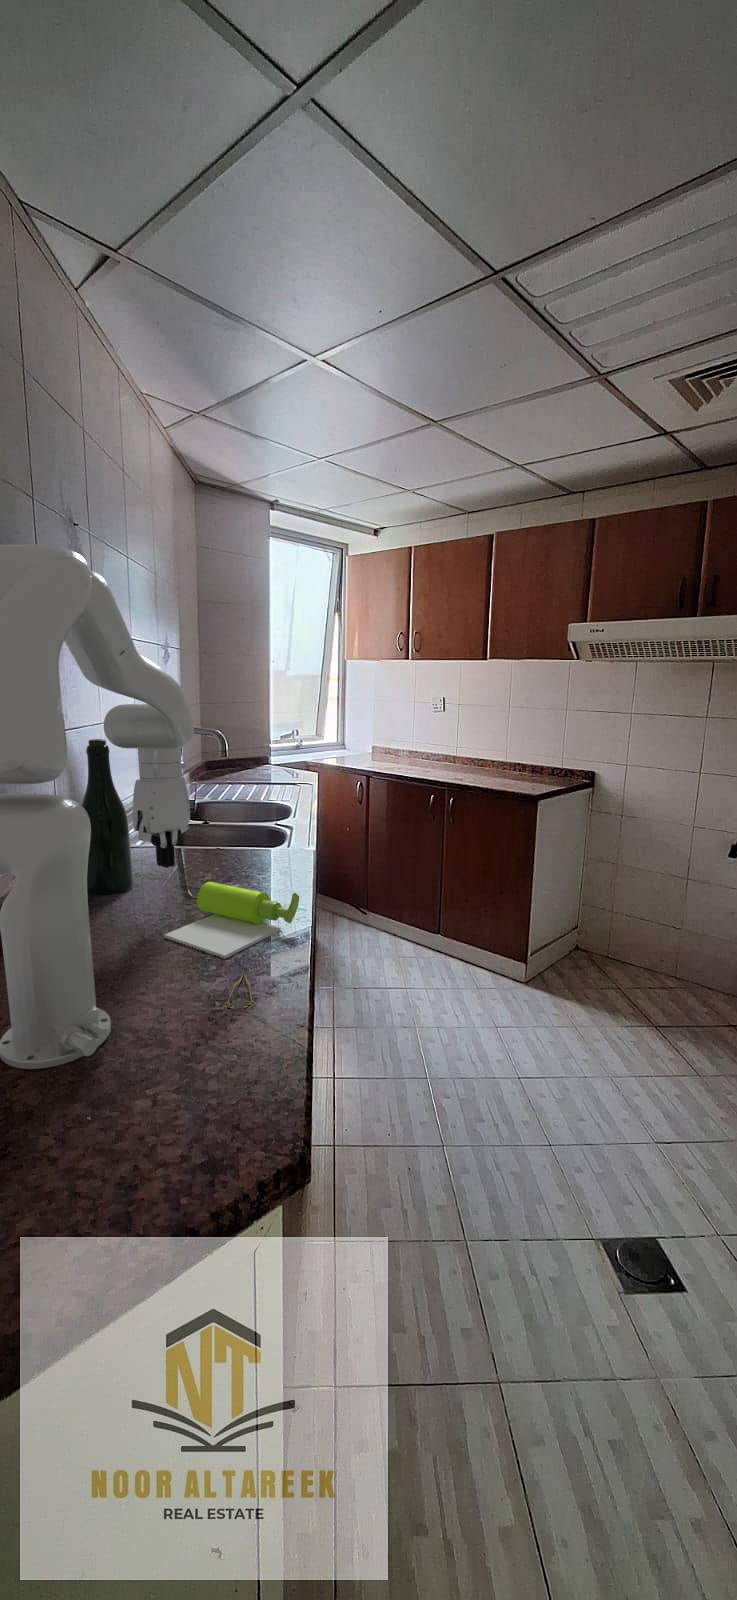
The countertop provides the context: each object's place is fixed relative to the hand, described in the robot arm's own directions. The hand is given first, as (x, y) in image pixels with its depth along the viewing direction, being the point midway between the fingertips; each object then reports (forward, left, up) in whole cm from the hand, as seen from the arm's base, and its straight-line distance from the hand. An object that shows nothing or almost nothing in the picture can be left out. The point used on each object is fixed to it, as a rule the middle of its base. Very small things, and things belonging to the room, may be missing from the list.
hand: (166, 865), depth 114 cm
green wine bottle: (+23, -3, -11) cm, 26 cm away
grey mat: (-15, 0, -10) cm, 18 cm away
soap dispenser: (-5, -6, -6) cm, 10 cm away
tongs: (-31, +13, -11) cm, 36 cm away
